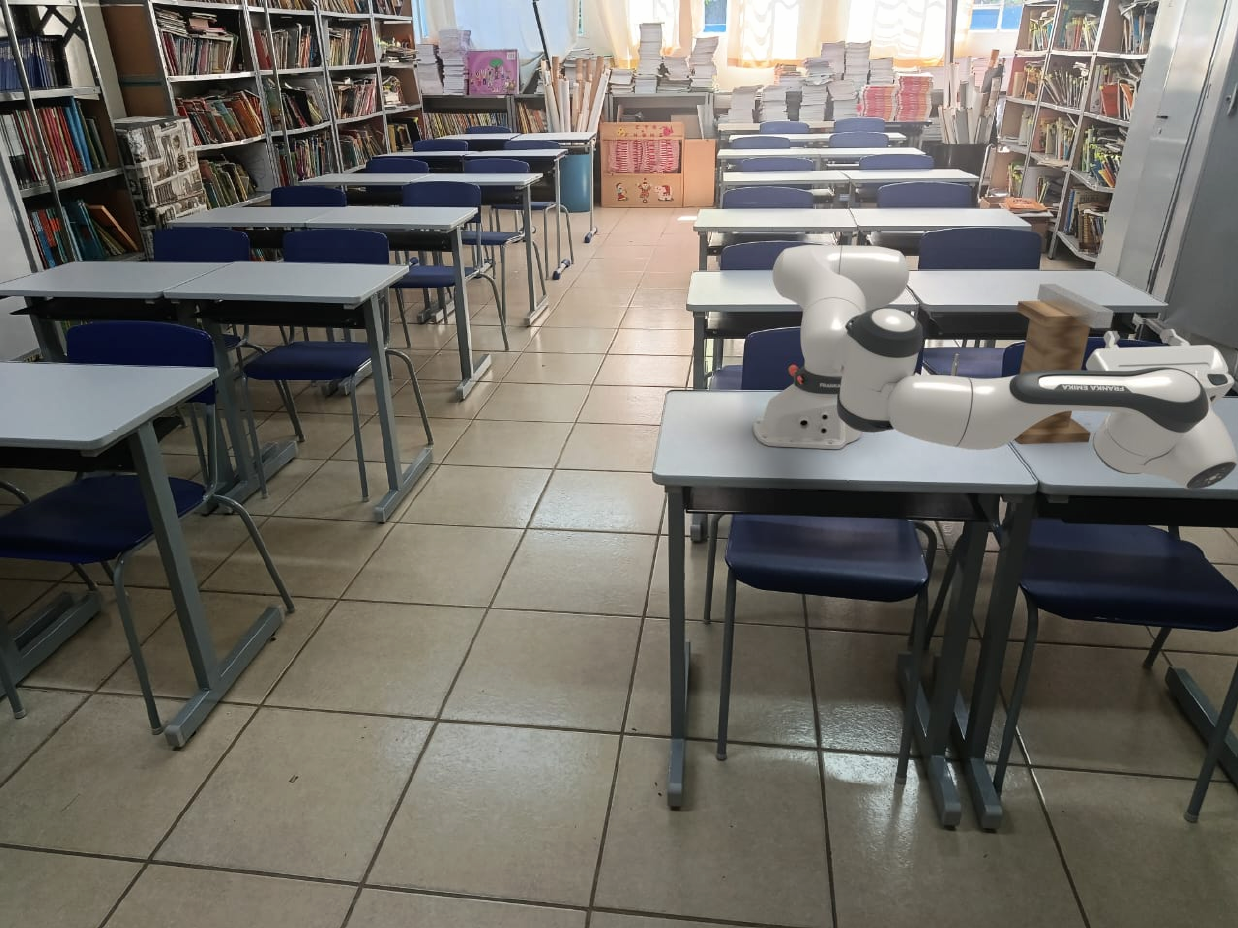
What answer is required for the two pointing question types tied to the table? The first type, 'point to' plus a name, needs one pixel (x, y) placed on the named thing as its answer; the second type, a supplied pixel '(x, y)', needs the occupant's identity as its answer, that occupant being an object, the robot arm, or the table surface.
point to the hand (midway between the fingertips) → (1137, 332)
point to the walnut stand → (1053, 365)
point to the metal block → (1075, 306)
